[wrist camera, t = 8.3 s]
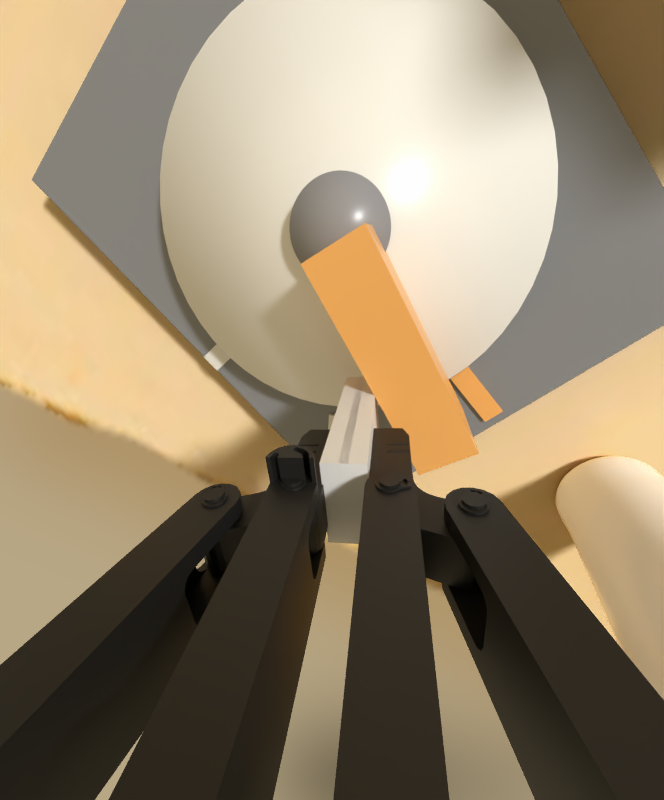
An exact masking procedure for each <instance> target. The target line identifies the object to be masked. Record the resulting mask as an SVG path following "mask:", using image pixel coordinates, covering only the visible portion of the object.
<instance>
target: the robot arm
mask: <svg viewBox="0 0 664 800" xmlns="http://www.w3.org/2000/svg"><path fill="white" fill-rule="evenodd" d="M266 462H267V468H268V473H269V479H270V484H269V486H268V488H267V490H266V491H264V492H260V493H256V494H251V495H246V496H241V494H240V491H239V489H238V488H237V487H236V486H233V485H231V484H218V485H213V486H210V487H208V488H205V489H203V490H201V491H200V492H199V493H197V494H196V495H194V496H193V498H191V499H190V500H189V501H188V502H187V503H185V504H184V505H183V506H182V507H181V508H180V509H178V510H177V511H176V512H175V513H174V514H173V515H172V516H171V517H169V518H168V519H167V520H166V521H165V522H164V523H162V524H161V525H160V526H159V527H158V528H157V529H156V530H155V531H153V532H152V533H151V534H150V535H149V536H148V537H146V538H145V539H144V540H143V541H142V542H141V543H140V544H139V545H137V546H136V547H135V548H134V549H133V550H132V551H130V552H129V553H128V554H127V555H126V556H125V557H124V558H122V559H121V560H120V561H119V562H118V563H117V564H115V565H114V566H113V567H112V568H111V569H110V570H109V571H107V572H106V573H105V574H104V575H103V576H102V577H101V578H99V579H98V580H97V581H96V582H95V583H94V584H93V585H92V586H90V587H89V588H88V589H87V590H86V591H85V592H84V593H82V594H81V595H80V596H79V597H78V598H77V599H76V600H74V601H73V602H72V603H71V604H70V605H69V606H67V607H66V608H65V609H64V610H63V611H62V612H61V613H59V614H58V615H57V616H56V617H55V618H54V619H53V620H52V621H50V622H49V623H48V624H47V625H46V626H45V627H43V628H42V629H41V630H40V631H39V632H38V633H36V635H34V636H33V637H32V638H31V639H30V640H29V641H27V642H26V643H25V644H24V645H23V646H22V647H20V648H19V649H18V650H17V651H16V652H15V653H14V654H13V655H11V656H10V657H9V658H8V659H7V660H6V661H4V662H3V663H2V664H1V665H0V800H95V799H96V797H97V796H98V794H99V793H100V792H101V790H102V789H103V787H104V786H105V784H106V783H107V782H108V780H109V779H110V777H111V776H112V775H113V773H114V772H115V770H116V769H117V768H118V766H119V765H120V763H121V762H122V761H123V759H124V758H125V756H126V755H127V754H128V752H129V751H130V749H131V748H132V747H133V745H134V744H135V742H136V741H137V740H138V738H139V737H140V735H141V734H142V736H141V737H140V739H139V741H138V743H137V745H136V747H135V749H134V751H133V753H132V755H131V757H130V760H129V761H128V763H127V765H126V767H125V769H124V771H123V773H122V775H121V777H120V778H119V780H118V782H117V784H116V786H115V788H114V790H113V792H112V794H111V796H110V798H109V800H273V795H274V791H275V786H276V782H277V777H278V773H279V768H280V763H281V759H282V754H283V750H284V745H285V741H286V736H287V731H288V727H289V722H290V718H291V713H292V708H293V704H294V699H295V694H296V690H297V686H298V681H299V677H300V672H301V667H302V662H303V658H304V654H305V649H306V645H307V640H308V635H309V631H310V626H311V621H312V617H313V612H314V608H315V603H316V599H317V594H318V590H319V585H320V581H321V576H322V571H323V567H324V562H325V558H326V553H325V542H324V541H325V537H326V532H327V534H328V542H335V543H352V544H359V547H358V557H357V567H356V578H355V588H354V598H353V608H352V618H351V629H350V639H349V649H348V658H347V668H346V679H345V689H344V699H343V710H342V719H341V729H340V740H339V749H338V759H337V769H336V779H335V790H334V800H449V793H448V783H447V775H446V765H445V755H444V746H443V736H442V727H441V718H440V708H439V699H438V690H437V680H436V671H435V661H434V653H433V643H432V634H431V624H430V616H429V605H428V596H427V587H426V578H429V579H432V580H435V581H438V582H441V583H442V588H443V591H444V593H445V595H446V598H447V600H448V602H449V605H450V607H451V609H452V611H453V614H454V616H455V618H456V620H457V623H458V625H459V627H460V630H461V632H462V634H463V636H464V639H465V641H466V643H467V646H468V648H469V650H470V652H471V655H472V657H473V659H474V661H475V664H476V666H477V668H478V671H479V673H480V675H481V677H482V680H483V682H484V684H485V686H486V689H487V691H488V693H489V696H490V698H491V700H492V703H493V705H494V707H495V709H496V712H497V714H498V716H499V718H500V721H501V723H502V725H503V728H504V730H505V732H506V734H507V737H508V739H509V741H510V744H511V746H512V748H513V750H514V753H515V755H516V757H517V760H518V762H519V764H520V766H521V769H522V771H523V773H524V775H525V778H526V780H527V782H528V785H529V787H530V789H531V791H532V794H533V796H534V798H535V800H664V700H663V698H662V697H661V696H660V695H659V694H658V692H657V691H656V690H655V689H654V687H653V686H652V685H651V684H650V683H649V681H648V680H647V679H646V678H645V677H644V675H643V674H642V673H641V672H640V670H639V669H638V668H637V667H636V666H635V664H634V663H633V662H632V661H631V659H630V658H629V657H628V656H627V655H626V653H625V652H624V651H623V650H622V648H621V647H620V646H619V645H618V644H617V642H616V641H615V640H614V639H613V637H612V636H611V635H610V634H609V633H608V631H607V630H606V629H605V628H604V626H603V625H602V624H601V623H600V622H599V620H598V619H597V618H596V617H595V615H594V614H593V613H592V612H591V611H590V609H589V608H588V607H587V606H586V604H585V603H584V602H583V601H582V600H581V598H580V597H579V596H578V595H577V593H576V592H575V591H574V590H573V589H572V587H571V586H570V585H569V584H568V582H567V581H566V580H565V579H564V578H563V576H562V575H561V574H560V573H559V571H558V570H557V569H556V568H555V567H554V565H553V564H552V563H551V562H550V560H549V559H548V558H547V557H546V556H545V554H544V553H543V552H542V551H541V549H540V548H539V547H538V546H537V545H536V543H535V542H534V541H533V540H532V539H531V537H530V536H529V535H528V534H527V532H526V531H525V530H524V529H523V528H522V526H521V525H520V524H519V523H518V521H517V520H516V519H515V518H514V517H513V515H512V514H511V513H510V512H509V510H508V509H507V508H506V507H505V506H504V504H503V503H502V502H501V501H500V500H499V499H498V498H497V497H496V496H494V495H493V494H491V493H489V492H487V491H484V490H481V489H476V488H460V489H456V490H453V491H451V492H450V493H449V494H448V495H447V496H446V499H444V498H440V497H436V496H433V495H430V494H427V493H425V492H423V491H422V490H421V489H419V488H418V487H417V486H416V484H415V483H414V480H413V474H412V463H411V452H410V440H409V435H408V434H407V433H406V432H405V430H404V429H403V428H379V424H378V401H377V399H376V398H375V395H374V394H373V392H372V391H371V389H370V387H369V385H368V383H367V382H366V380H365V378H364V377H348V378H347V379H346V382H345V385H344V389H343V392H342V395H341V398H340V401H339V404H338V407H337V410H336V413H335V416H334V420H333V423H332V426H331V429H330V430H309V431H308V432H307V433H306V434H304V435H303V436H302V437H301V439H300V442H299V444H298V445H290V446H284V447H281V448H277V449H276V450H274V451H272V452H270V453H269V454H268V455H267V456H266ZM203 558H205V563H204V564H203V565H202V566H201V567H199V568H198V569H196V566H197V564H198V563H199V562H200V561H201V560H202V559H203ZM142 732H143V733H142Z"/></svg>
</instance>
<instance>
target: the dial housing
mask: <svg viewBox="0 0 664 800" xmlns="http://www.w3.org/2000/svg"><path fill="white" fill-rule="evenodd" d="M243 1H244V0H126V2H125V4H124V6H123V8H122V10H121V12H120V14H119V16H118V17H117V19H116V21H115V23H114V25H113V27H112V29H111V31H110V33H109V34H108V36H107V38H106V40H105V42H104V44H103V46H102V48H101V50H100V52H99V53H98V55H97V57H96V59H95V61H94V63H93V65H92V67H91V69H90V70H89V72H88V74H87V76H86V78H85V80H84V82H83V84H82V86H81V87H80V89H79V91H78V93H77V95H76V97H75V99H74V101H73V103H72V104H71V106H70V108H69V110H68V112H67V114H66V116H65V118H64V120H63V122H62V123H61V125H60V127H59V129H58V131H57V133H56V135H55V137H54V139H53V140H52V142H51V144H50V146H49V148H48V150H47V152H46V154H45V156H44V157H43V159H42V161H41V163H40V165H39V167H38V169H37V171H36V173H35V175H34V176H33V178H32V181H33V182H34V183H35V184H36V185H37V186H38V187H39V188H40V189H41V190H42V191H43V192H44V193H45V194H46V195H47V196H48V197H49V198H50V199H51V200H52V201H53V202H54V203H55V204H56V205H57V206H58V207H59V208H60V209H61V210H62V211H63V212H64V213H65V215H66V216H67V217H68V218H69V219H70V220H71V221H72V222H73V223H74V224H75V225H76V226H77V227H78V228H79V229H80V230H81V231H82V232H83V233H84V234H85V235H86V236H87V237H88V238H89V239H90V240H91V241H92V242H93V243H94V244H95V245H96V246H97V247H98V248H99V249H100V250H101V251H102V252H103V254H104V255H105V256H106V257H107V258H108V259H109V260H110V261H111V262H112V263H113V264H114V265H115V266H116V267H117V268H118V269H119V270H120V271H121V272H122V273H123V274H124V275H125V276H126V277H127V278H128V279H129V280H130V281H131V282H132V283H133V284H134V285H135V286H136V287H137V288H138V289H139V290H140V292H141V293H142V294H143V295H144V296H145V297H146V298H147V299H148V300H149V301H150V302H151V303H152V304H153V305H154V306H155V307H156V308H157V309H158V310H159V311H160V312H161V313H162V314H163V315H164V316H165V317H166V318H167V319H168V320H169V321H170V322H171V323H172V324H173V325H174V326H175V327H176V328H177V330H178V331H179V332H180V333H181V334H182V335H183V336H184V337H185V338H186V339H187V340H188V341H189V342H190V343H191V344H192V345H193V346H194V347H195V348H196V349H197V350H198V351H199V352H200V353H201V354H202V355H203V356H204V358H205V359H206V360H207V361H208V362H209V363H210V364H211V365H212V366H213V367H214V368H215V369H216V370H217V371H218V372H219V373H220V374H221V375H222V376H223V377H224V378H225V379H226V380H227V381H228V382H229V383H230V384H231V385H232V386H233V387H234V388H235V389H236V390H237V391H238V392H239V393H240V394H241V395H242V396H243V397H244V398H245V399H246V400H247V401H248V402H249V403H250V404H251V405H252V407H253V408H254V409H255V410H256V411H257V412H258V413H259V414H260V415H261V416H262V417H263V418H264V419H265V420H266V421H267V422H268V423H269V424H270V425H271V426H272V427H273V428H274V429H275V430H276V431H277V432H278V433H279V434H280V435H281V436H282V437H283V438H284V439H285V440H286V441H287V442H288V443H289V445H298V444H299V442H300V439H301V437H302V436H303V435H304V434H306V433H307V432H308V431H309V430H330V429H331V426H332V423H333V420H334V416H335V413H336V410H337V407H338V406H331V405H323V404H318V403H314V402H310V401H306V400H302V399H299V398H296V397H293V396H291V395H288V394H286V393H283V392H280V391H279V390H277V389H275V388H273V387H271V386H269V385H267V384H265V383H263V382H261V381H260V380H258V379H257V378H256V377H254V376H253V375H251V374H250V373H248V372H247V371H245V370H244V369H243V368H242V367H240V366H239V365H238V364H237V363H236V362H234V361H233V360H232V359H231V358H230V357H229V356H228V355H227V354H226V353H225V352H224V351H223V350H222V349H221V348H220V347H219V346H218V345H217V344H216V343H215V342H214V341H213V339H212V338H211V337H210V335H209V334H208V333H207V331H206V330H205V329H204V327H203V326H202V325H201V324H200V322H199V320H198V319H197V317H196V316H195V314H194V312H193V311H192V309H191V307H190V306H189V304H188V302H187V300H186V298H185V296H184V294H183V291H182V289H181V287H180V285H179V283H178V281H177V278H176V275H175V272H174V269H173V266H172V263H171V261H170V258H169V254H168V249H167V245H166V241H165V236H164V232H163V224H162V216H161V208H160V170H161V160H162V150H163V144H164V140H165V135H166V130H167V126H168V121H169V117H170V115H171V112H172V109H173V106H174V103H175V100H176V97H177V94H178V91H179V89H180V87H181V85H182V83H183V81H184V78H185V76H186V74H187V72H188V70H189V68H190V66H191V64H192V62H193V61H194V59H195V58H196V56H197V55H198V53H199V51H200V50H201V48H202V47H203V45H204V44H205V42H206V41H207V39H208V38H209V36H210V35H211V34H212V33H213V32H214V31H215V29H216V28H217V27H218V26H219V25H220V24H221V22H222V21H223V20H224V19H225V18H226V17H227V16H228V14H229V13H230V12H231V11H233V10H234V9H235V8H236V7H237V6H238V5H240V4H241V3H242V2H243ZM483 1H485V2H486V3H487V4H488V5H489V6H490V7H492V8H493V9H494V10H495V11H496V12H497V14H498V15H499V16H500V17H501V18H502V20H503V21H504V22H505V23H506V24H507V26H508V27H509V28H510V29H511V30H512V32H513V33H514V34H515V35H516V36H517V38H518V40H519V42H520V43H521V45H522V47H523V48H524V50H525V52H526V53H527V55H528V57H529V59H530V60H531V62H532V64H533V65H534V67H535V70H536V72H537V75H538V77H539V80H540V82H541V85H542V87H543V90H544V92H545V95H546V97H547V101H548V105H549V109H550V114H551V118H552V122H553V126H554V130H555V138H556V148H557V158H558V189H557V202H556V209H555V215H554V222H553V228H552V232H551V236H550V239H549V243H548V246H547V250H546V253H545V257H544V260H543V262H542V265H541V267H540V269H539V272H538V274H537V277H536V279H535V281H534V284H533V286H532V288H531V290H530V291H529V293H528V295H527V297H526V298H525V300H524V302H523V304H522V306H521V307H520V309H519V311H518V312H517V314H516V315H515V316H514V318H513V319H512V320H511V322H510V323H509V325H508V326H507V327H506V329H505V330H504V331H503V333H502V334H501V335H500V336H499V337H498V338H497V339H496V340H495V341H494V342H493V344H492V345H491V346H490V347H489V348H488V349H487V350H486V351H485V352H484V353H483V354H482V355H481V356H479V357H478V358H477V359H476V360H475V361H474V362H472V363H471V364H470V365H469V366H468V367H466V368H465V369H464V370H462V371H461V372H459V373H458V374H456V375H455V376H453V377H452V378H450V379H449V381H450V383H451V385H452V387H453V389H454V391H455V393H456V395H457V398H458V400H459V402H460V404H461V406H462V408H463V410H464V413H465V416H466V419H467V422H468V424H469V427H470V430H471V433H472V436H473V437H474V436H476V435H477V434H479V433H481V432H483V431H484V430H486V429H488V428H489V427H491V426H493V425H494V424H496V423H498V422H500V421H501V420H503V419H505V418H506V417H508V416H510V415H511V414H513V413H515V412H517V411H518V410H520V409H522V408H523V407H525V406H527V405H529V404H530V403H532V402H534V401H535V400H537V399H539V398H540V397H542V396H544V395H546V394H547V393H549V392H551V391H552V390H554V389H556V388H558V387H559V386H561V385H563V384H564V383H566V382H568V381H569V380H571V379H573V378H575V377H576V376H578V375H580V374H581V373H583V372H585V371H587V370H588V369H590V368H592V367H593V366H595V365H597V364H598V363H600V362H602V361H604V360H605V359H607V358H609V357H610V356H612V355H614V354H615V353H617V352H619V351H621V350H622V349H624V348H626V347H627V346H629V345H631V344H633V343H634V342H636V341H638V340H639V339H641V338H643V337H644V336H646V335H648V334H650V333H651V332H653V331H655V330H656V329H658V328H660V327H662V326H663V325H664V187H663V186H662V184H661V182H660V180H659V179H658V177H657V175H656V173H655V171H654V170H653V168H652V166H651V164H650V163H649V161H648V159H647V157H646V155H645V154H644V152H643V150H642V148H641V147H640V145H639V143H638V141H637V139H636V138H635V136H634V134H633V132H632V131H631V129H630V127H629V125H628V123H627V122H626V120H625V118H624V116H623V114H622V113H621V111H620V109H619V107H618V106H617V104H616V102H615V100H614V98H613V97H612V95H611V93H610V91H609V90H608V88H607V86H606V84H605V82H604V81H603V79H602V77H601V75H600V74H599V72H598V70H597V68H596V66H595V65H594V63H593V61H592V59H591V58H590V56H589V54H588V52H587V50H586V49H585V47H584V45H583V43H582V42H581V40H580V38H579V36H578V34H577V33H576V31H575V29H574V27H573V26H572V24H571V22H570V20H569V18H568V17H567V15H566V13H565V11H564V9H563V8H562V6H561V4H560V2H559V1H558V0H483ZM378 424H379V428H392V426H391V424H390V423H389V421H388V419H387V417H386V415H385V414H384V412H383V410H382V408H381V407H380V405H378ZM411 463H412V462H411ZM414 471H416V469H415V467H414V465H413V463H412V473H413V472H414Z"/></svg>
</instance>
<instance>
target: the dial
mask: <svg viewBox="0 0 664 800" xmlns="http://www.w3.org/2000/svg"><path fill="white" fill-rule="evenodd" d="M557 189H558V158H557V148H556V138H555V130H554V126H553V122H552V118H551V114H550V109H549V105H548V101H547V97H546V95H545V92H544V90H543V87H542V85H541V82H540V80H539V77H538V75H537V72H536V70H535V67H534V65H533V64H532V62H531V60H530V59H529V57H528V55H527V53H526V52H525V50H524V48H523V47H522V45H521V43H520V42H519V40H518V38H517V36H516V35H515V34H514V33H513V32H512V30H511V29H510V28H509V27H508V26H507V24H506V23H505V22H504V21H503V20H502V18H501V17H500V16H499V15H498V14H497V12H496V11H495V10H494V9H493V8H492V7H490V6H489V5H488V4H487V3H486V2H485V1H483V0H244V1H243V2H242V3H241V4H240V5H238V6H237V7H236V8H235V9H234V10H233V11H231V12H230V13H229V14H228V16H227V17H226V18H225V19H224V20H223V21H222V22H221V24H220V25H219V26H218V27H217V28H216V29H215V31H214V32H213V33H212V34H211V35H210V36H209V38H208V39H207V41H206V42H205V44H204V45H203V47H202V48H201V50H200V51H199V53H198V55H197V56H196V58H195V59H194V61H193V62H192V64H191V66H190V68H189V70H188V72H187V74H186V76H185V78H184V81H183V83H182V85H181V87H180V89H179V91H178V94H177V97H176V100H175V103H174V106H173V109H172V112H171V115H170V117H169V121H168V126H167V130H166V135H165V140H164V144H163V150H162V160H161V170H160V208H161V216H162V224H163V232H164V236H165V241H166V245H167V249H168V254H169V258H170V261H171V263H172V266H173V269H174V272H175V275H176V278H177V281H178V283H179V285H180V287H181V289H182V291H183V294H184V296H185V298H186V300H187V302H188V304H189V306H190V307H191V309H192V311H193V312H194V314H195V316H196V317H197V319H198V320H199V322H200V324H201V325H202V326H203V327H204V329H205V330H206V331H207V333H208V334H209V335H210V337H211V338H212V339H213V341H214V342H215V343H216V344H217V345H218V346H219V347H220V348H221V349H222V350H223V351H224V352H225V353H226V354H227V355H228V356H229V357H230V358H231V359H232V360H233V361H234V362H236V363H237V364H238V365H239V366H240V367H242V368H243V369H244V370H245V371H247V372H248V373H250V374H251V375H253V376H254V377H256V378H257V379H258V380H260V381H261V382H263V383H265V384H267V385H269V386H271V387H273V388H275V389H277V390H279V391H280V392H283V393H286V394H288V395H291V396H293V397H296V398H299V399H302V400H306V401H310V402H314V403H318V404H323V405H331V406H338V404H339V401H340V398H341V395H342V392H343V389H344V385H345V382H346V379H347V378H348V377H364V378H365V380H366V382H367V383H368V385H369V387H370V389H371V391H372V392H373V394H374V395H375V398H376V399H377V401H378V405H380V407H381V408H382V410H383V412H384V414H385V415H386V417H387V419H388V421H389V423H390V424H391V426H392V428H403V429H404V430H405V432H406V433H407V434H408V435H409V440H410V452H411V462H412V463H413V465H414V467H415V469H416V470H417V472H418V474H419V475H420V474H422V473H425V472H428V471H431V470H434V469H437V468H439V467H442V466H445V465H448V464H451V463H453V462H456V461H459V460H462V459H465V458H468V457H470V456H473V455H476V454H479V452H478V450H477V447H476V444H475V441H474V438H473V436H472V433H471V430H470V427H469V424H468V422H467V419H466V416H465V413H464V410H463V408H462V406H461V404H460V402H459V400H458V398H457V395H456V393H455V391H454V389H453V387H452V385H451V383H450V381H449V379H450V378H452V377H453V376H455V375H456V374H458V373H459V372H461V371H462V370H464V369H465V368H466V367H468V366H469V365H470V364H471V363H472V362H474V361H475V360H476V359H477V358H478V357H479V356H481V355H482V354H483V353H484V352H485V351H486V350H487V349H488V348H489V347H490V346H491V345H492V344H493V342H494V341H495V340H496V339H497V338H498V337H499V336H500V335H501V334H502V333H503V331H504V330H505V329H506V327H507V326H508V325H509V323H510V322H511V320H512V319H513V318H514V316H515V315H516V314H517V312H518V311H519V309H520V307H521V306H522V304H523V302H524V300H525V298H526V297H527V295H528V293H529V291H530V290H531V288H532V286H533V284H534V281H535V279H536V277H537V274H538V272H539V269H540V267H541V265H542V262H543V260H544V257H545V253H546V250H547V246H548V243H549V239H550V236H551V232H552V228H553V222H554V215H555V209H556V202H557Z"/></svg>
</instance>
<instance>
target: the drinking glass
mask: <svg viewBox="0 0 664 800" xmlns="http://www.w3.org/2000/svg"><path fill="white" fill-rule="evenodd" d="M556 507H557V511H558V513H559V515H560V517H561V519H562V521H563V523H564V524H565V526H566V528H567V530H568V531H569V533H570V535H571V537H572V540H573V542H574V544H575V546H576V549H577V551H578V553H579V555H580V558H581V560H582V562H583V564H584V567H585V569H586V571H587V574H588V576H589V578H590V580H591V583H592V585H593V587H594V590H595V592H596V594H597V597H598V599H599V601H600V604H601V606H602V608H603V610H604V613H605V615H606V617H607V620H608V622H609V625H610V627H611V629H612V632H613V634H614V636H615V639H616V641H617V643H618V645H619V646H620V647H621V648H622V650H623V651H624V652H625V653H626V655H627V656H628V657H629V658H630V659H631V661H632V662H633V663H634V664H635V666H636V667H637V668H638V669H639V670H640V672H641V673H642V674H643V675H644V677H645V678H646V679H647V680H648V681H649V683H650V684H651V685H652V686H653V687H654V689H655V690H656V691H657V692H658V694H659V695H660V696H661V697H662V698H663V700H664V477H663V476H662V475H661V474H660V473H659V472H657V471H656V470H655V469H654V468H652V467H651V466H650V465H648V464H646V463H644V462H642V461H640V460H637V459H634V458H630V457H624V456H604V457H599V458H594V459H591V460H588V461H586V462H584V463H582V464H580V465H578V466H576V467H575V468H573V469H572V470H571V471H570V472H568V473H567V474H566V475H565V477H564V478H563V479H562V480H561V482H560V484H559V486H558V488H557V492H556Z"/></svg>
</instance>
